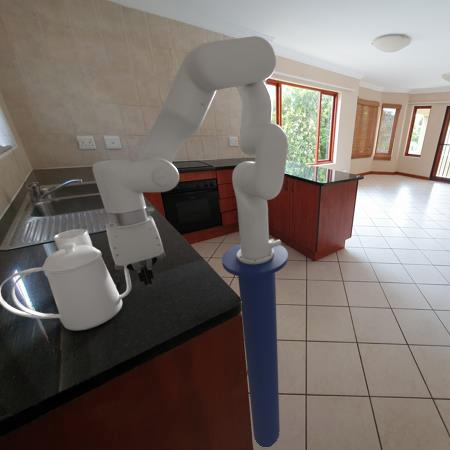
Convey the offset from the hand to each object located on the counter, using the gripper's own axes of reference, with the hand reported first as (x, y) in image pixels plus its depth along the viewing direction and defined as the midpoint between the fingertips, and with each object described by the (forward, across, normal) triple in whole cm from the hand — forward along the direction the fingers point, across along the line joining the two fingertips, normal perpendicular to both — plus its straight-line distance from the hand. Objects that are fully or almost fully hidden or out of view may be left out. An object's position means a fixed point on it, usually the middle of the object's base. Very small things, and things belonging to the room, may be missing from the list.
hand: (147, 281), depth 61 cm
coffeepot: (+4, +11, 0) cm, 12 cm away
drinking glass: (+4, +13, -18) cm, 23 cm away
